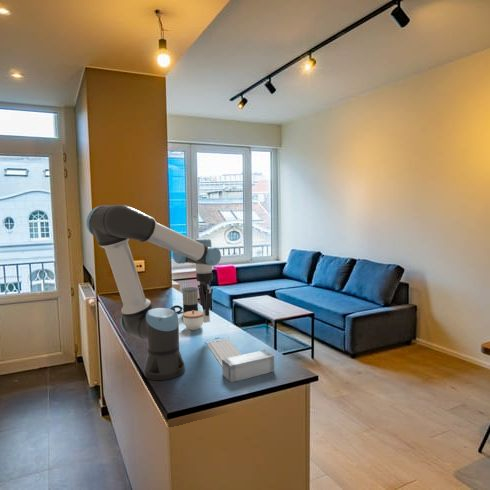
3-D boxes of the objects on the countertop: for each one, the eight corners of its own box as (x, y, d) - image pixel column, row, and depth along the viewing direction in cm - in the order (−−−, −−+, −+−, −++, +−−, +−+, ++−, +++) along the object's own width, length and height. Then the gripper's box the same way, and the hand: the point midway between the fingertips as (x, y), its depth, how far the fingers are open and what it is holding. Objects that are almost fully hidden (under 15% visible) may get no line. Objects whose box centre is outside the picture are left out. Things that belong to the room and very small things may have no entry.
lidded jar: (208, 327, 198) (207, 310, 197) (191, 332, 191) (190, 314, 190) (195, 323, 206) (195, 306, 205) (179, 328, 198) (178, 310, 197)
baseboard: (220, 373, 145) (250, 368, 149) (220, 365, 145) (250, 361, 148) (203, 345, 174) (228, 342, 178) (203, 339, 174) (228, 336, 178)
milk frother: (200, 314, 223) (199, 289, 222) (173, 317, 218) (172, 292, 216) (194, 308, 237) (193, 285, 235) (168, 311, 231) (167, 287, 229)
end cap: (230, 382, 136) (230, 365, 135) (222, 374, 142) (222, 359, 141) (274, 371, 144) (274, 355, 143) (264, 364, 150) (264, 349, 150)
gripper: (217, 273, 173) (219, 324, 176) (206, 269, 184) (208, 317, 187) (201, 275, 170) (204, 327, 172) (191, 270, 181) (194, 319, 184)
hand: (206, 321), depth 180 cm, fingers closed
